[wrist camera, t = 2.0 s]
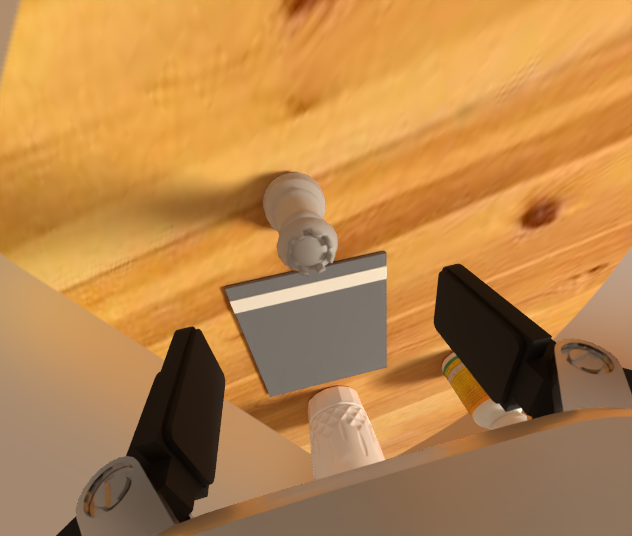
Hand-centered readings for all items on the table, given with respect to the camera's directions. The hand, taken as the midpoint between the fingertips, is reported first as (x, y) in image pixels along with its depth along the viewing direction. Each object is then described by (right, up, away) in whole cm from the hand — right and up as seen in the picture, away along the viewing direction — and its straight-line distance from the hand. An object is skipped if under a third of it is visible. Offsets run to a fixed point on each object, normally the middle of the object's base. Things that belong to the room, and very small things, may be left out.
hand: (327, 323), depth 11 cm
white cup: (+2, -15, +25) cm, 29 cm away
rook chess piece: (-2, +7, +10) cm, 12 cm away
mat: (0, -4, +17) cm, 18 cm away
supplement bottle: (+18, -10, +25) cm, 32 cm away
